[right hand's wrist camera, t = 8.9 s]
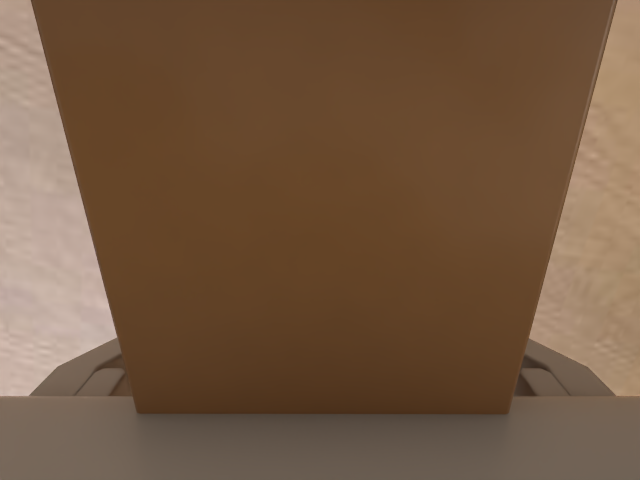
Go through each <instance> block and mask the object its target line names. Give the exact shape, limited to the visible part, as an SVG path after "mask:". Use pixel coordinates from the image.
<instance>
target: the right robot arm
mask: <svg viewBox="0 0 640 480" xmlns="http://www.w3.org/2000/svg"><path fill="white" fill-rule="evenodd" d="M0 480H640V396H616V395H615V394H614V393H613V392H612V391H611V390H610V389H609V388H608V387H607V386H606V385H605V384H604V383H603V382H602V381H601V380H600V379H599V378H598V377H597V376H596V375H595V374H594V373H593V372H592V371H591V370H590V369H589V368H588V367H586V366H584V365H582V364H580V363H578V362H576V361H574V360H572V359H570V358H568V357H566V356H564V355H562V354H560V353H557V352H555V351H553V350H551V349H549V348H547V347H545V346H543V345H541V344H539V343H537V342H535V341H533V340H531V339H529V338H528V342H527V346H526V350H525V354H524V357H523V361H522V365H521V369H520V373H519V376H518V380H517V384H516V388H515V392H514V395H513V399H512V403H511V407H510V411H509V413H508V414H139V413H137V412H136V408H135V404H134V400H133V396H132V392H131V388H130V384H129V381H128V377H127V373H126V369H125V365H124V361H123V357H122V353H121V349H120V345H119V342H118V338H115V339H113V340H111V341H109V342H107V343H105V344H103V345H101V346H99V347H97V348H95V349H93V350H91V351H89V352H87V353H85V354H83V355H81V356H79V357H77V358H75V359H72V360H70V361H68V362H66V363H64V364H62V365H60V366H58V367H57V368H56V369H55V370H54V371H53V372H52V373H51V374H50V375H49V376H48V377H47V378H46V379H45V380H44V381H43V382H42V383H41V384H40V385H39V386H38V387H37V388H36V389H35V390H34V391H33V392H32V393H31V394H30V395H29V396H0Z"/></svg>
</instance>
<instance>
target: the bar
mask: <svg viewBox="0 0 640 480" xmlns="http://www.w3.org/2000/svg"><path fill="white" fill-rule="evenodd" d="M31 2H32V6H33V10H34V14H35V18H36V22H37V26H38V30H39V34H40V38H41V41H42V45H43V49H44V53H45V57H46V61H47V65H48V69H49V73H50V77H51V80H52V84H53V88H54V92H55V96H56V100H57V104H58V108H59V112H60V116H61V119H62V123H63V127H64V131H65V135H66V139H67V143H68V147H69V151H70V155H71V158H72V162H73V166H74V170H75V174H76V178H77V182H78V186H79V190H80V193H81V197H82V201H83V205H84V209H85V213H86V217H87V221H88V225H89V229H90V232H91V236H92V240H93V244H94V248H95V252H96V256H97V260H98V264H99V268H100V271H101V275H102V279H103V283H104V287H105V291H106V295H107V299H108V303H109V307H110V310H111V314H112V318H113V322H114V326H115V330H116V334H117V338H118V342H119V345H120V349H121V353H122V357H123V361H124V365H125V369H126V373H127V377H128V381H129V384H130V388H131V392H132V396H133V400H134V404H135V408H136V412H137V413H139V414H508V413H509V411H510V407H511V403H512V399H513V395H514V392H515V388H516V384H517V380H518V376H519V373H520V369H521V365H522V361H523V357H524V354H525V350H526V346H527V342H528V338H529V335H530V331H531V327H532V323H533V319H534V316H535V312H536V308H537V304H538V300H539V297H540V293H541V289H542V285H543V281H544V278H545V274H546V270H547V266H548V262H549V259H550V255H551V251H552V247H553V243H554V240H555V236H556V232H557V228H558V224H559V221H560V217H561V213H562V209H563V205H564V202H565V198H566V194H567V190H568V186H569V183H570V179H571V175H572V171H573V167H574V164H575V160H576V156H577V152H578V148H579V145H580V141H581V137H582V133H583V130H584V126H585V122H586V118H587V114H588V111H589V107H590V103H591V99H592V95H593V92H594V88H595V84H596V80H597V76H598V73H599V69H600V65H601V61H602V57H603V54H604V50H605V46H606V42H607V38H608V35H609V31H610V27H611V23H612V19H613V16H614V12H615V8H616V4H617V0H31Z"/></svg>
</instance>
